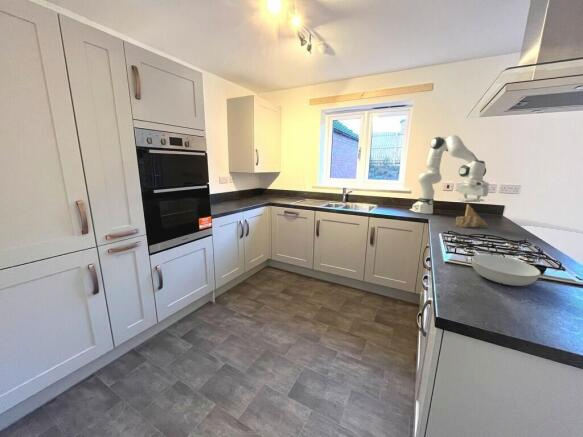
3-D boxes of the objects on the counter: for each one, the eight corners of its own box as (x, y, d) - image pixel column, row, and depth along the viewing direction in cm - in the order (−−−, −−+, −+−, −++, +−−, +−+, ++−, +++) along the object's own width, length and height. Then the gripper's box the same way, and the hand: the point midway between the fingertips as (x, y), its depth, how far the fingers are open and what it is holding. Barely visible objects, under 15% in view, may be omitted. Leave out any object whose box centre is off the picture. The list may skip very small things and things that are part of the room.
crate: (461, 227, 181) (462, 218, 179) (454, 225, 186) (456, 216, 184) (477, 226, 185) (479, 217, 183) (471, 224, 190) (473, 216, 188)
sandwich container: (488, 226, 188) (492, 207, 184) (464, 223, 195) (468, 205, 192) (486, 224, 195) (490, 206, 191) (463, 221, 202) (467, 203, 199)
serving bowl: (470, 264, 112) (473, 250, 110) (532, 278, 99) (536, 263, 97) (466, 280, 96) (470, 264, 94) (540, 299, 83) (545, 281, 82)
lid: (465, 202, 176) (466, 199, 176) (457, 201, 183) (458, 198, 182) (483, 202, 180) (484, 199, 180) (475, 201, 186) (475, 198, 186)
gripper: (458, 181, 187) (455, 198, 190) (484, 183, 168) (480, 203, 171) (465, 181, 189) (461, 198, 192) (491, 183, 169) (487, 202, 172)
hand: (470, 200), depth 181 cm, fingers closed on lid, 7 cm apart
